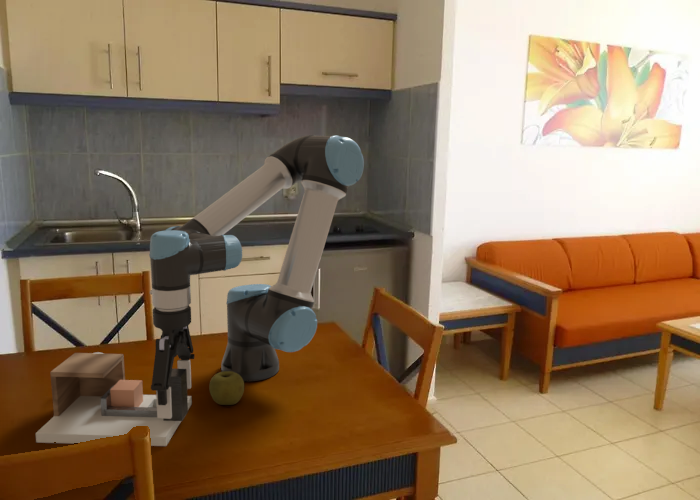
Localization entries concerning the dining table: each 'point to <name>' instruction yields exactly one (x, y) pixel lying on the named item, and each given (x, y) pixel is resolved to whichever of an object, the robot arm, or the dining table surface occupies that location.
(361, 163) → the robot arm
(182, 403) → the grey u-shaped bracket
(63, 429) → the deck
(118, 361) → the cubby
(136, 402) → the cube
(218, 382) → the apple
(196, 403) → the dining table surface
